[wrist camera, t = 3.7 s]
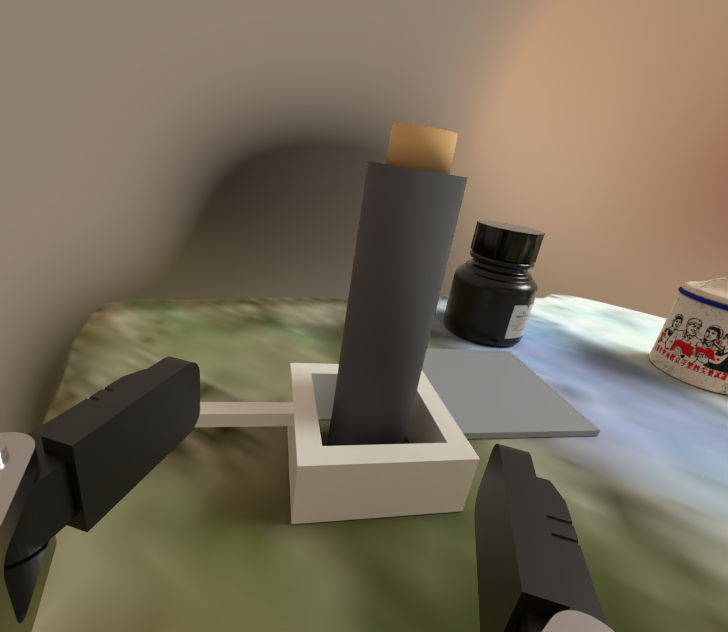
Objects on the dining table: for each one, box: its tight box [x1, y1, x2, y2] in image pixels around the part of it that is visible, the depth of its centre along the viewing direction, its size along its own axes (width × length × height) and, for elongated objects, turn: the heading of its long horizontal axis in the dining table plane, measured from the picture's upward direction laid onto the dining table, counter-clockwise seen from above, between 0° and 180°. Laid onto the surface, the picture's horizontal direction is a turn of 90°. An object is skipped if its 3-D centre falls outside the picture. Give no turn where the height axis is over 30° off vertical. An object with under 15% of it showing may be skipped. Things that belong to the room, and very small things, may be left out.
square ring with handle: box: [195, 363, 480, 524], centre depth 21 cm, size 15×9×4 cm, turn 102°
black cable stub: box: [327, 124, 467, 446], centre depth 20 cm, size 4×4×18 cm
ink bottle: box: [444, 220, 545, 346], centre depth 42 cm, size 10×9×12 cm
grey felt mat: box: [422, 348, 600, 439], centre depth 32 cm, size 12×12×1 cm
